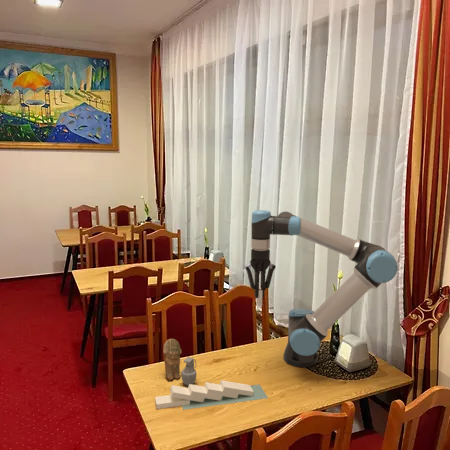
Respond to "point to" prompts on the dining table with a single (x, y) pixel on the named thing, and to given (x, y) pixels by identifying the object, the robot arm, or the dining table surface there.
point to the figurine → (172, 358)
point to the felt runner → (229, 399)
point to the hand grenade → (189, 372)
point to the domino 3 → (201, 392)
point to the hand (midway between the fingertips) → (259, 304)
